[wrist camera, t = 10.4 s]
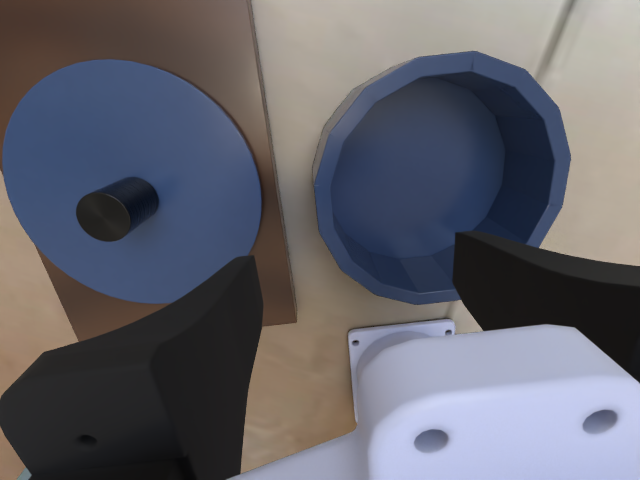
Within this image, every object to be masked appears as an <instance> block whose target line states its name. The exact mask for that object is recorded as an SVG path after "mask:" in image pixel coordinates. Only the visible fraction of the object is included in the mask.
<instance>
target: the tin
mask: <svg viewBox="0 0 640 480" xmlns="http://www.w3.org/2000/svg"><path fill="white" fill-rule="evenodd" d="M570 156H571V154H570V150H569V146H568V142H567V137H566V133H565V129H564V125H563V121H562V117H561V113H560V110H559V107H558V106H557V105H556V104H555V103H554V101H553V100H552V99H551V98H550V97H549V96H548V94H547V93H546V92H545V91H544V90H543V89H542V88H541V86H540V85H539V84H538V83H537V82H536V81H535V79H534V78H533V77H532V76H531V75H530V74H529V73H528V71H526V70H525V69H523V68H520V67H518V66H515V65H512V64H510V63H507V62H504V61H502V60H499V59H496V58H494V57H491V56H488V55H485V54H483V53H480V52H477V51H468V52H459V53H450V54H441V55H432V56H423V57H417V58H414V59H412V60H409V61H406V62H404V63H401V64H398V65H396V66H393V67H391V68H389V69H388V70H386V71H384V72H382V73H381V74H379V75H377V76H375V77H373V78H371V79H370V80H368V81H367V82H365V83H363V84H362V85H360V86H358V87H356V88H355V89H353V90H352V91H351V92H350V94H349V95H348V96H347V97H346V99H345V100H344V101H343V102H342V104H341V105H340V106H339V107H338V108H337V109H336V111H335V112H334V114H333V115H332V117H331V118H330V119H329V121H328V122H327V123H326V124H325V127H324V128H323V132H322V135H321V139H320V142H319V144H318V147H317V152H316V156H315V159H314V163H313V166H312V174H313V183H314V192H315V201H316V210H317V219H318V228H319V232H320V235H321V237H322V239H323V240H324V242H325V244H326V245H327V247H328V249H329V251H330V252H331V254H332V256H333V257H334V259H335V261H336V263H337V264H338V266H339V268H340V269H341V270H342V271H343V272H344V273H345V274H347V275H348V276H350V277H351V278H352V279H354V280H355V281H357V282H358V283H359V284H361V285H362V286H363V287H365V288H366V289H368V290H369V291H370V292H372V293H373V294H376V295H377V296H382V297H386V298H390V299H394V300H398V301H402V302H406V303H410V304H414V305H416V304H417V305H421V304H430V303H439V302H448V301H457V300H461V298H460V296H459V295H458V293H457V291H456V289H455V287H454V285H453V283H452V279H453V262H454V246H455V232H463V231H480V232H484V233H488V234H492V235H495V236H499V237H502V238H506V239H509V240H512V241H516V242H519V243H522V244H526V245H529V246H533V247H537V248H539V246H540V245H541V243H542V241H543V239H544V238H545V236H546V234H547V233H548V231H549V229H550V227H551V226H552V224H553V222H554V220H555V219H556V217H557V215H558V213H559V212H560V210H561V208H562V205H563V201H564V195H565V190H566V184H567V178H568V173H569V167H570V161H571V157H570Z"/></svg>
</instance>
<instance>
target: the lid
mask: <svg viewBox="0 0 640 480" xmlns="http://www.w3.org/2000/svg"><path fill="white" fill-rule="evenodd" d="M2 167H3V176H4V182H5V186H6V190H7V194H8V197H9V200H10V202H11V205H12V207H13V210H14V212H15V214H16V216H17V218H18V220H19V222H20V224H21V225H22V227H23V229H24V230H25V232H26V233H27V234H28V236H29V237H30V239H31V240H32V241H33V243H34V244H35V245H36V246H37V247H38V248H39V250H40V251H41V252H42V253H43V254H44V255H45V256H46V257H47V258H48V259H49V260H50V261H51V262H52V263H53V264H54V265H56V266H57V267H58V268H60V269H61V270H62V271H63V272H65V273H66V274H67V275H69V276H70V277H72V278H74V279H75V280H77V281H78V282H80V283H81V284H83V285H85V286H87V287H89V288H91V289H93V290H95V291H98V292H100V293H103V294H106V295H108V296H111V297H115V298H118V299H122V300H126V301H131V302H138V303H149V304H162V303H173V302H174V301H176V300H178V299H179V298H181V297H183V296H184V295H186V294H187V293H189V292H190V291H192V290H193V289H194V288H196V287H197V286H199V285H200V284H201V283H203V282H204V281H206V280H207V279H208V278H210V277H211V276H212V275H213V274H215V273H216V272H217V271H218V270H220V269H221V268H222V267H223V266H225V265H226V264H227V263H229V262H230V261H231V260H233V259H234V258H236V257H240V256H248V255H249V253H250V251H251V249H252V247H253V245H254V242H255V239H256V236H257V233H258V230H259V227H260V221H261V216H262V189H261V181H260V177H259V173H258V169H257V166H256V163H255V160H254V158H253V155H252V152H251V150H250V148H249V146H248V144H247V143H246V141H245V139H244V137H243V135H242V134H241V132H240V131H239V129H238V128H237V126H236V125H235V124H234V122H233V121H232V120H231V118H230V117H229V116H228V115H227V114H226V113H225V112H224V111H223V109H222V108H221V107H220V106H219V105H218V104H216V103H215V102H214V101H213V100H212V99H211V98H210V97H209V96H208V95H206V94H205V93H204V92H202V91H201V90H199V89H198V88H197V87H195V86H194V85H192V84H191V83H189V82H187V81H186V80H184V79H182V78H180V77H178V76H176V75H174V74H172V73H170V72H167V71H165V70H162V69H159V68H157V67H154V66H150V65H146V64H142V63H138V62H133V61H126V60H116V59H102V60H90V61H85V62H79V63H75V64H72V65H69V66H67V67H64V68H61V69H58V70H57V71H55V72H53V73H51V74H50V75H48V76H46V77H44V78H43V79H42V80H40V81H39V82H38V83H37V84H36V85H34V86H33V87H32V88H31V89H30V90H29V91H28V92H27V93H26V95H25V96H24V97H23V98H22V99H21V100H20V102H19V103H18V105H17V107H16V109H15V110H14V112H13V114H12V115H11V118H10V121H9V123H8V126H7V129H6V132H5V137H4V143H3V152H2Z"/></svg>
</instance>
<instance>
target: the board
mask: <svg viewBox="0 0 640 480" xmlns="http://www.w3.org/2000/svg"><path fill="white" fill-rule="evenodd" d="M102 59H116V60H126V61H133V62H138V63H142V64H146V65H150V66H154V67H157V68H159V69H162V70H165V71H167V72H170V73H172V74H174V75H176V76H178V77H180V78H182V79H184V80H186V81H187V82H189V83H191V84H192V85H194V86H195V87H197V88H198V89H199V90H201V91H202V92H204V93H205V94H206V95H208V96H209V97H210V98H211V99H212V100H213V101H214V102H215V103H216V104H218V105H219V106H220V107H221V108H222V109H223V111H224V112H225V113H226V114H227V115H228V116H229V117H230V118H231V120H232V121H233V122H234V124H235V125H236V126H237V128H238V129H239V131H240V132H241V134H242V135H243V137H244V139H245V141H246V143H247V144H248V146H249V148H250V150H251V152H252V155H253V158H254V160H255V163H256V166H257V169H258V173H259V177H260V181H261V189H262V216H261V221H260V227H259V230H258V233H257V236H256V239H255V242H254V245H253V247H252V249H251V251H250V253H249V255H254V257H255V262H256V267H257V272H258V277H259V282H260V287H261V292H262V297H263V303H264V307H263V321H262V326H270V325H279V324H288V323H296V322H297V306H296V299H295V292H294V286H293V279H292V272H291V266H290V259H289V253H288V246H287V239H286V233H285V226H284V219H283V213H282V206H281V199H280V193H279V186H278V179H277V173H276V166H275V159H274V153H273V146H272V139H271V133H270V126H269V119H268V113H267V106H266V99H265V93H264V86H263V79H262V73H261V66H260V60H259V53H258V46H257V40H256V33H255V26H254V20H253V13H252V6H251V0H0V170H1V172H2V174H3V167H2V152H3V143H4V137H5V132H6V129H7V126H8V123H9V121H10V118H11V115H12V114H13V112H14V110H15V109H16V107H17V105H18V103H19V102H20V100H21V99H22V98H23V97H24V96H25V95H26V93H27V92H28V91H29V90H30V89H31V88H32V87H33V86H34V85H36V84H37V83H38V82H39V81H40V80H42V79H43V78H44V77H46V76H48V75H50V74H51V73H53V72H55V71H57V70H58V69H61V68H64V67H67V66H69V65H72V64H75V63H79V62H85V61H90V60H102ZM35 246H36V245H35ZM36 249H37V251H38V253H39V255H40V257H41V260H42V262H43V264H44V266H45V268H46V271H47V273H48V275H49V277H50V279H51V282H52V284H53V286H54V288H55V290H56V293H57V295H58V297H59V299H60V301H61V303H62V306H63V308H64V310H65V312H66V314H67V317H68V319H69V321H70V323H71V325H72V328H73V330H74V332H75V334H76V336H77V339H78V341H79V342H80V341H84V340H87V339H90V338H93V337H96V336H99V335H102V334H105V333H107V332H110V331H113V330H115V329H118V328H120V327H123V326H125V325H128V324H130V323H133V322H135V321H137V320H139V319H141V318H143V317H145V316H148V315H150V314H152V313H154V312H156V311H158V310H160V309H162V308H164V307H166V306H167V305H169V304H171V303H162V304H149V303H138V302H131V301H126V300H122V299H118V298H115V297H111V296H108V295H106V294H103V293H100V292H98V291H95V290H93V289H91V288H89V287H87V286H85V285H83V284H81V283H80V282H78V281H77V280H75V279H74V278H72V277H70V276H69V275H67V274H66V273H65V272H63V271H62V270H61V269H60V268H58V267H57V266H56V265H54V264H53V263H52V262H51V261H50V260H49V259H48V258H47V257H46V256H45V255H44V254H43V253H42V252H41V251H40V250H39V248H38V247H37V246H36ZM249 255H248V256H249Z"/></svg>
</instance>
